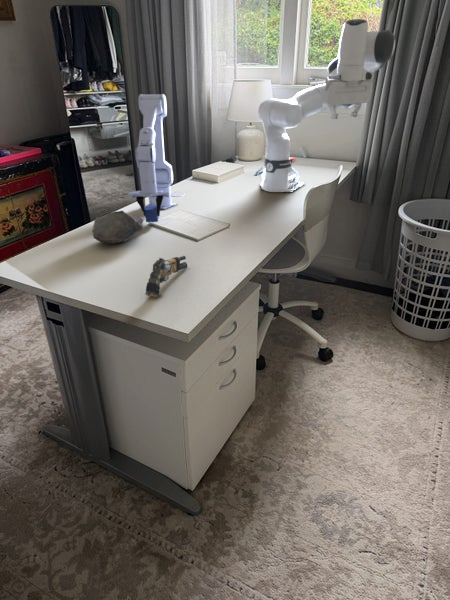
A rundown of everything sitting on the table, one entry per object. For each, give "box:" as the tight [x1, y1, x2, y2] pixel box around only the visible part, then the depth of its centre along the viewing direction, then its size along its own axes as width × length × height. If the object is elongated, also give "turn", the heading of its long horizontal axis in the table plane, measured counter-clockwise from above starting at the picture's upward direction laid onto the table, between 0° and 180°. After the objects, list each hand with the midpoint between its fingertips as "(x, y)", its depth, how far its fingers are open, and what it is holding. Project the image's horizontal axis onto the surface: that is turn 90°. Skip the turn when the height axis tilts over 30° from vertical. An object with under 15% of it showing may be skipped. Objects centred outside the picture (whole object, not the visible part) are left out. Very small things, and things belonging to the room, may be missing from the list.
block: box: [145, 205, 160, 223], centre depth 161 cm, size 4×5×5 cm
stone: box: [91, 210, 144, 244], centre depth 146 cm, size 18×10×15 cm
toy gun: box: [145, 255, 188, 298], centre depth 120 cm, size 3×21×10 cm, turn 158°
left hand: (152, 215), depth 162 cm, fingers closed on block, 4 cm apart
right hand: (344, 117), depth 154 cm, fingers open, 8 cm apart
